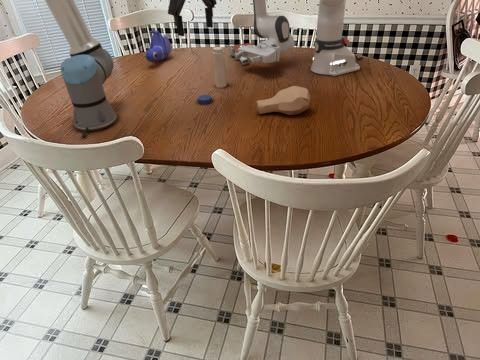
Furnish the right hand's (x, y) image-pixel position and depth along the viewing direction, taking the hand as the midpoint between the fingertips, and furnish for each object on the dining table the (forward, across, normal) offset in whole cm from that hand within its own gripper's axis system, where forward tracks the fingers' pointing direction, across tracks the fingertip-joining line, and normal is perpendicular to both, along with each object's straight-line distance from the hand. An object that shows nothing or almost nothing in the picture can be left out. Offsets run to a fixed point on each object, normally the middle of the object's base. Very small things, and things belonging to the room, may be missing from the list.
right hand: (243, 58), depth 158 cm
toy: (+15, -52, +8) cm, 55 cm away
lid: (+28, +8, +7) cm, 30 cm away
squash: (+14, +38, +9) cm, 41 cm away
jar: (+14, 0, +9) cm, 16 cm away
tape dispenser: (-17, -22, +9) cm, 30 cm away
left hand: (+28, +8, -18) cm, 35 cm away
